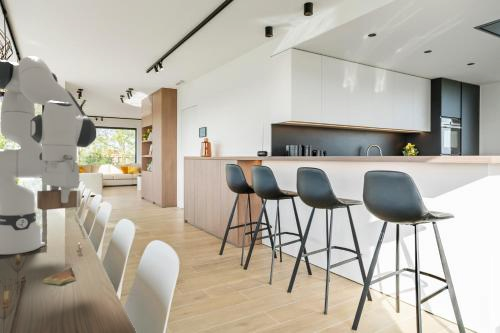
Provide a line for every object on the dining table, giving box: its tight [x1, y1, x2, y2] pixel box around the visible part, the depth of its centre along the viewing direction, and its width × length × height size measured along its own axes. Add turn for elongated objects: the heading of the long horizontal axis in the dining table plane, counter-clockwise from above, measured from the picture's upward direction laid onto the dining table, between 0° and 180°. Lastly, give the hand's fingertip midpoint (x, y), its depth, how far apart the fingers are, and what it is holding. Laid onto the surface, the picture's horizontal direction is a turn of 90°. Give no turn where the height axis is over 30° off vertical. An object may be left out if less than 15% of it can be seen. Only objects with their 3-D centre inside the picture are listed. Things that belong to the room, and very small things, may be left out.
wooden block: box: [36, 188, 81, 211], centre depth 97 cm, size 5×5×10 cm
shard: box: [42, 267, 76, 286], centre depth 98 cm, size 11×8×2 cm
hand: (59, 201), depth 97 cm, fingers closed on wooden block, 5 cm apart
